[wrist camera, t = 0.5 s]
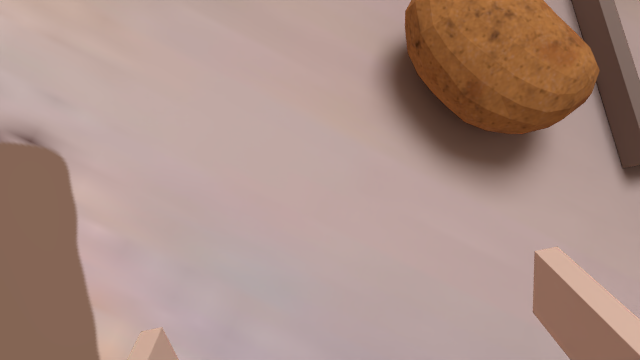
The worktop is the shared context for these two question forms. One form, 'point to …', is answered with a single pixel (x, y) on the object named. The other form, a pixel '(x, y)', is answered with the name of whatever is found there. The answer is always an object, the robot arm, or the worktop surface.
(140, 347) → the robot arm
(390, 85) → the worktop surface
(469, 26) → the potato
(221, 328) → the worktop surface
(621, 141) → the tray
